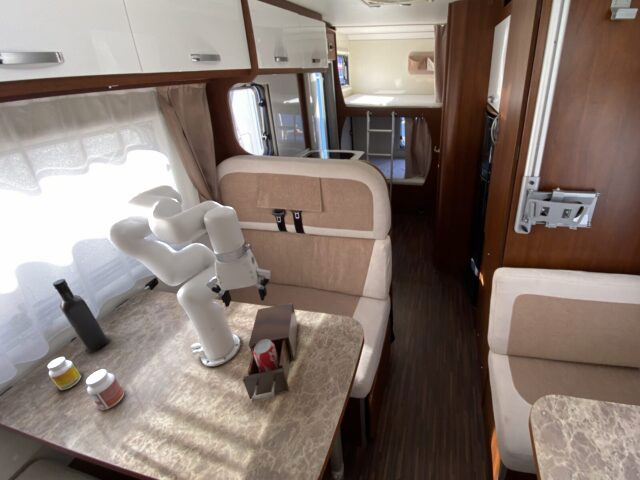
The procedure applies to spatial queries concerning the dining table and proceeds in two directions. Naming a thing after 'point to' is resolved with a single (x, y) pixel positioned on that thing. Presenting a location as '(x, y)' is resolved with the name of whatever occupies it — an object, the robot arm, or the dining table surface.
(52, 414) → the dining table surface
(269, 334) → the cabinet
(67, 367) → the supplement bottle
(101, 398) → the pill bottle
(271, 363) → the beverage can
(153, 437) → the dining table surface
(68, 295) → the wine bottle
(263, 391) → the drawer
